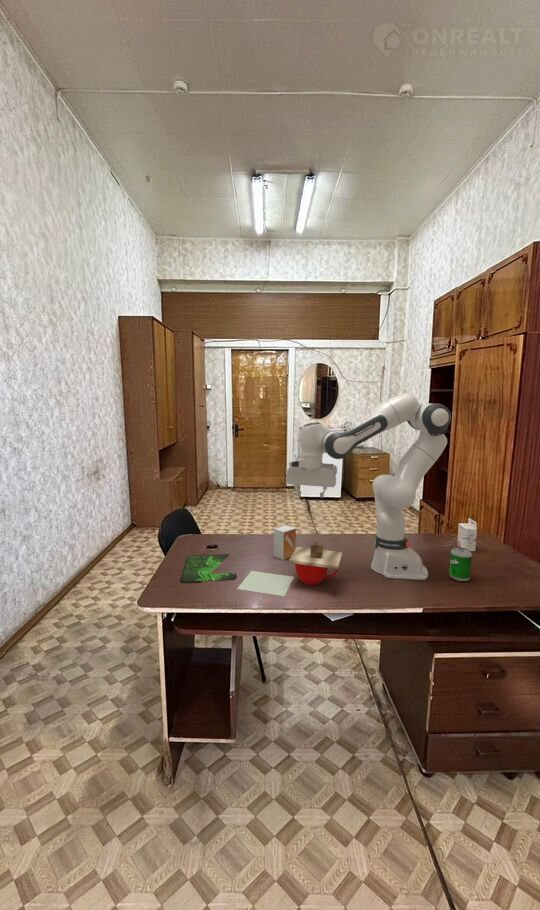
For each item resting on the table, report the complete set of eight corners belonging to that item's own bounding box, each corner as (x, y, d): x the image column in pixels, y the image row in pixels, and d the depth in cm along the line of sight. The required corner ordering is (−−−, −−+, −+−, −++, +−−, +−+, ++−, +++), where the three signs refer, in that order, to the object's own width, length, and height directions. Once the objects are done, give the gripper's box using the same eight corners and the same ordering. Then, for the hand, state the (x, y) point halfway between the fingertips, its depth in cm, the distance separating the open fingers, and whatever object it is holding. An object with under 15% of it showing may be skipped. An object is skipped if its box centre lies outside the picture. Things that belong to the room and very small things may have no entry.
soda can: (468, 576, 153) (470, 547, 152) (471, 584, 146) (473, 554, 145) (447, 573, 156) (449, 545, 154) (450, 581, 149) (452, 551, 147)
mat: (294, 577, 150) (294, 576, 150) (284, 597, 135) (284, 596, 135) (251, 571, 155) (251, 570, 155) (237, 589, 140) (237, 588, 140)
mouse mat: (186, 556, 172) (186, 554, 172) (235, 554, 174) (235, 552, 174) (179, 584, 145) (179, 582, 145) (237, 581, 147) (237, 579, 147)
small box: (283, 560, 167) (283, 532, 165) (273, 556, 172) (273, 528, 170) (295, 555, 173) (296, 528, 171) (285, 551, 177) (286, 524, 175)
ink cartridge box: (456, 546, 186) (458, 517, 184) (466, 546, 186) (468, 517, 184) (464, 552, 178) (467, 522, 176) (475, 553, 178) (478, 522, 176)
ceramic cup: (330, 596, 136) (331, 569, 135) (288, 584, 145) (288, 559, 143) (342, 581, 148) (343, 557, 146) (302, 572, 156) (303, 548, 154)
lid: (342, 554, 149) (342, 539, 148) (337, 569, 136) (338, 553, 135) (297, 549, 154) (297, 534, 153) (289, 562, 141) (289, 547, 140)
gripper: (338, 462, 153) (337, 496, 155) (288, 460, 159) (288, 492, 161) (336, 465, 147) (335, 500, 149) (285, 462, 153) (284, 496, 155)
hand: (310, 496), depth 155 cm, fingers open, 8 cm apart
